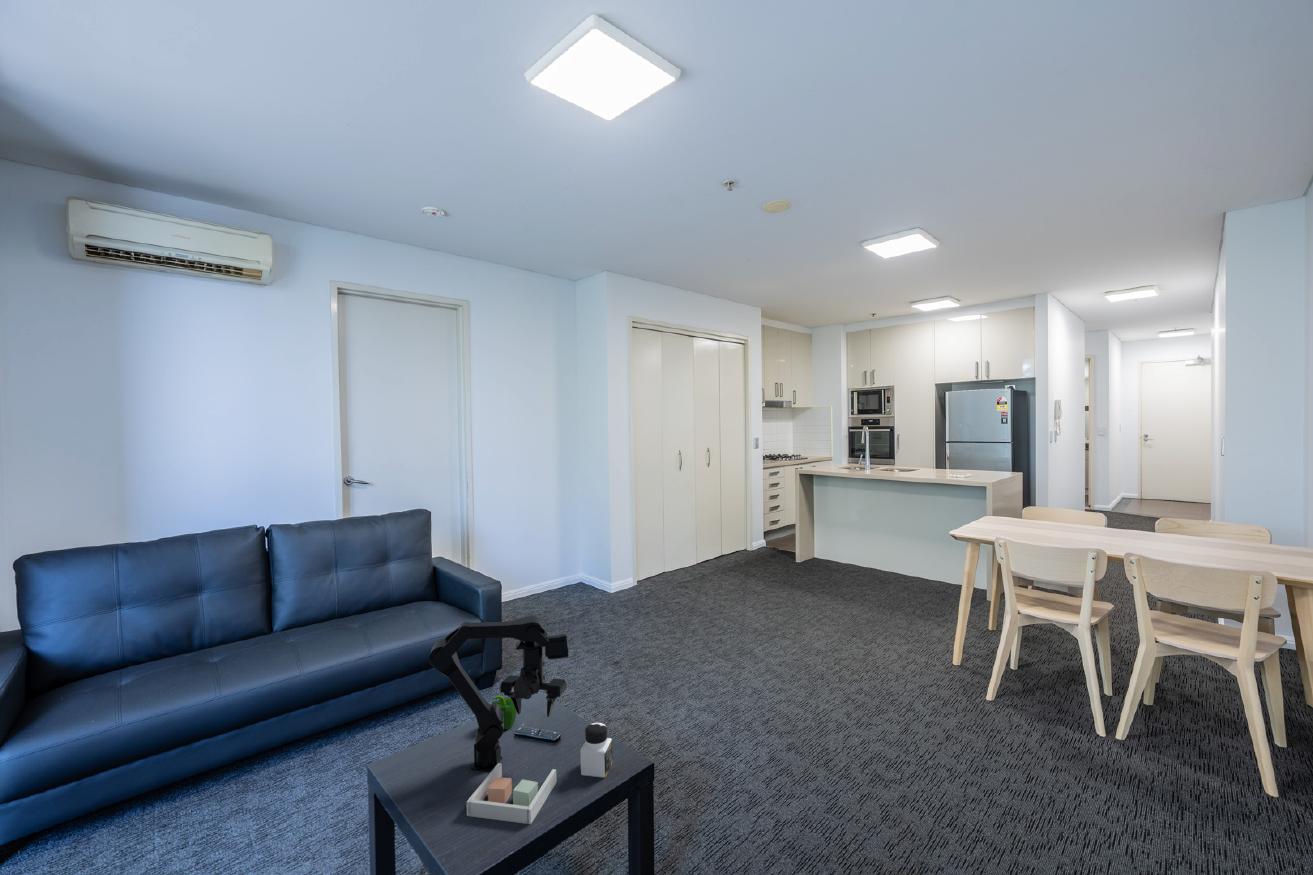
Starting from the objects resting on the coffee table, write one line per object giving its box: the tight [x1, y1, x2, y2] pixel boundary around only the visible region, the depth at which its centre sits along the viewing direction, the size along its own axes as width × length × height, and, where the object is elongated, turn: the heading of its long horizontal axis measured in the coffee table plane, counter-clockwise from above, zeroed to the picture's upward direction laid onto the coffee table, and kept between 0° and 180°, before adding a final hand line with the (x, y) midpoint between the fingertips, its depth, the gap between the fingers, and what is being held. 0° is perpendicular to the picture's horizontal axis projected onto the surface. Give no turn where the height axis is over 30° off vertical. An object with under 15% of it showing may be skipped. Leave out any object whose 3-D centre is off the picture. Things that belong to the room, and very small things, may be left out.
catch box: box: [466, 762, 557, 825], centre depth 140 cm, size 17×16×4 cm
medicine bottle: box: [579, 722, 613, 779], centre depth 151 cm, size 7×7×12 cm
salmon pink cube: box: [487, 777, 513, 804], centre depth 140 cm, size 4×4×4 cm
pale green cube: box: [512, 779, 539, 806], centre depth 139 cm, size 4×4×4 cm
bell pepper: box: [491, 695, 518, 730], centre depth 176 cm, size 8×8×10 cm
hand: (533, 714), depth 158 cm, fingers open, 9 cm apart
